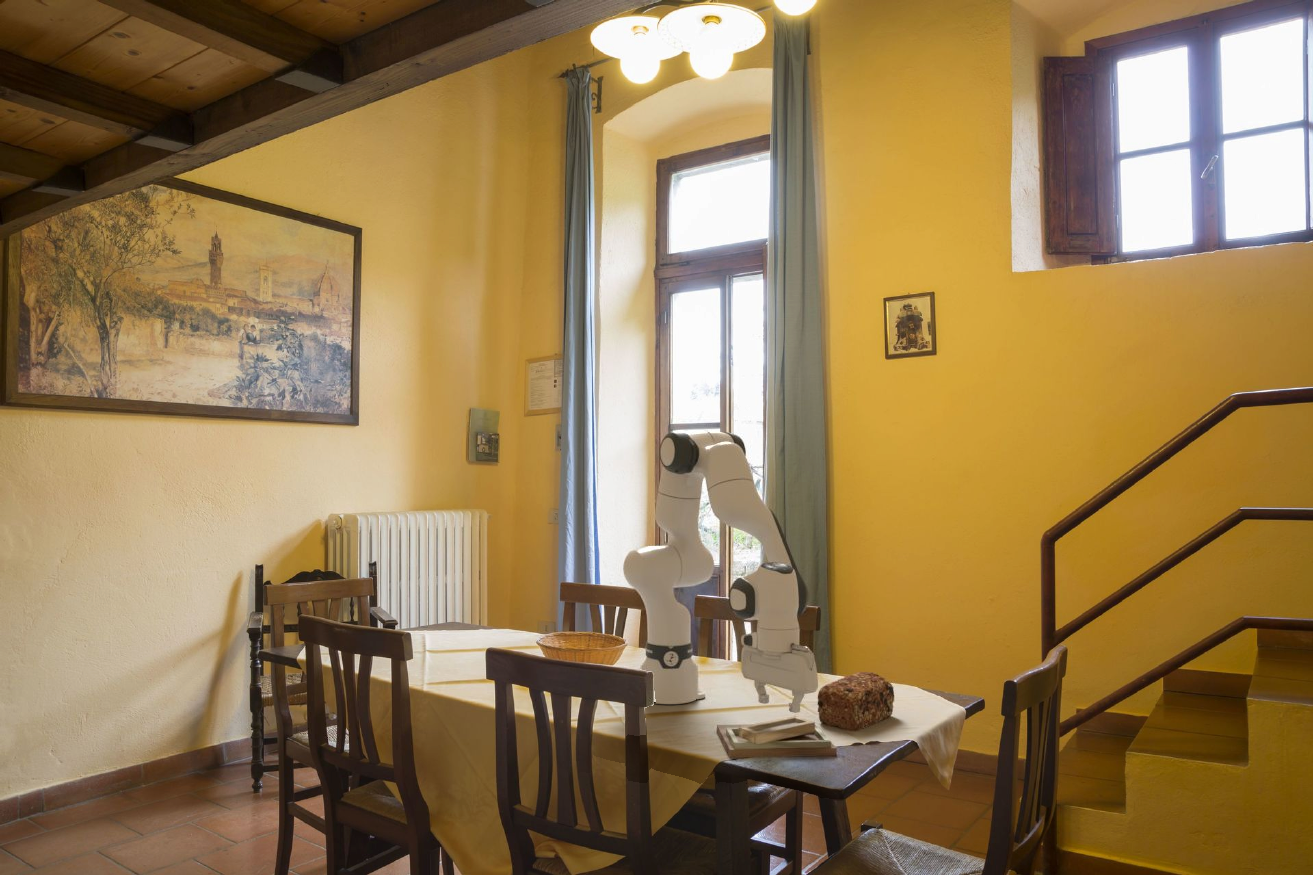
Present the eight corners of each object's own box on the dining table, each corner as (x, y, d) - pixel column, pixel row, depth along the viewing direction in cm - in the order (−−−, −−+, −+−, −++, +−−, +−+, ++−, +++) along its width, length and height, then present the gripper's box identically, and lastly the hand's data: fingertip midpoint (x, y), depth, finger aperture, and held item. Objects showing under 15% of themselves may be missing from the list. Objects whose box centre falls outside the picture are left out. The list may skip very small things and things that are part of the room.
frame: (738, 737, 182) (738, 727, 182) (795, 725, 191) (795, 715, 191) (757, 744, 177) (757, 734, 177) (814, 731, 186) (814, 722, 186)
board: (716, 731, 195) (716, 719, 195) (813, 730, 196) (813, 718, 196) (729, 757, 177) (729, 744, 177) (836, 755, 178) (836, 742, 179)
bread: (857, 708, 215) (857, 668, 216) (897, 717, 208) (896, 674, 209) (815, 724, 202) (815, 680, 202) (855, 733, 195) (855, 688, 195)
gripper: (824, 646, 178) (825, 715, 177) (757, 633, 194) (758, 696, 194) (801, 649, 174) (802, 720, 173) (735, 635, 191) (736, 700, 190)
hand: (778, 707), depth 184 cm, fingers open, 8 cm apart
